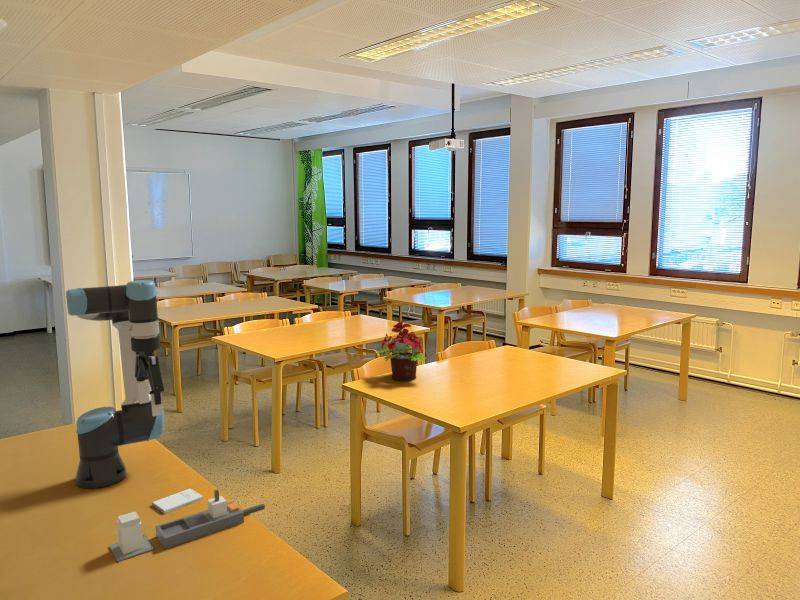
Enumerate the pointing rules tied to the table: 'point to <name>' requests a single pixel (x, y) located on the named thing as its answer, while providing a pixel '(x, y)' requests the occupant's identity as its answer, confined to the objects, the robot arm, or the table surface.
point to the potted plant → (403, 362)
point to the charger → (130, 532)
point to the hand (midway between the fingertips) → (151, 408)
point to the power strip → (203, 522)
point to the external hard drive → (177, 501)
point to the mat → (120, 556)
